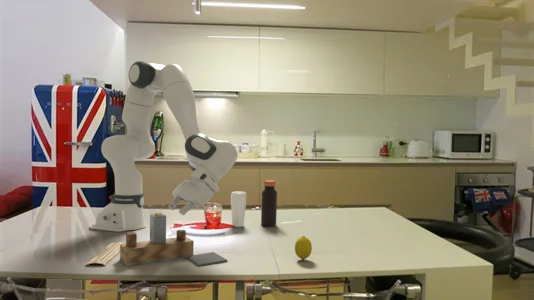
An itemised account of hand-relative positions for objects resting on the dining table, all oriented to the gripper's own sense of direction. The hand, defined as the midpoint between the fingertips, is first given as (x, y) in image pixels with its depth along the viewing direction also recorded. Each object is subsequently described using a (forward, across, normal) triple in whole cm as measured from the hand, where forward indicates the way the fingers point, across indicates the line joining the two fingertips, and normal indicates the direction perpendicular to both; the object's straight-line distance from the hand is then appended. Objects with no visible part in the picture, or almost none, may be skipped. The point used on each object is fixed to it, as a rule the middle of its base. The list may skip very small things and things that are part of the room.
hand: (175, 211), depth 140 cm
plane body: (+15, 0, +6) cm, 16 cm away
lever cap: (+11, 0, +3) cm, 11 cm away
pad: (+6, +10, +15) cm, 19 cm away
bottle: (-27, -24, +48) cm, 60 cm away
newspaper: (+25, -11, -3) cm, 27 cm away
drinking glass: (-18, -28, +39) cm, 51 cm away
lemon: (-14, +25, +35) cm, 45 cm away
